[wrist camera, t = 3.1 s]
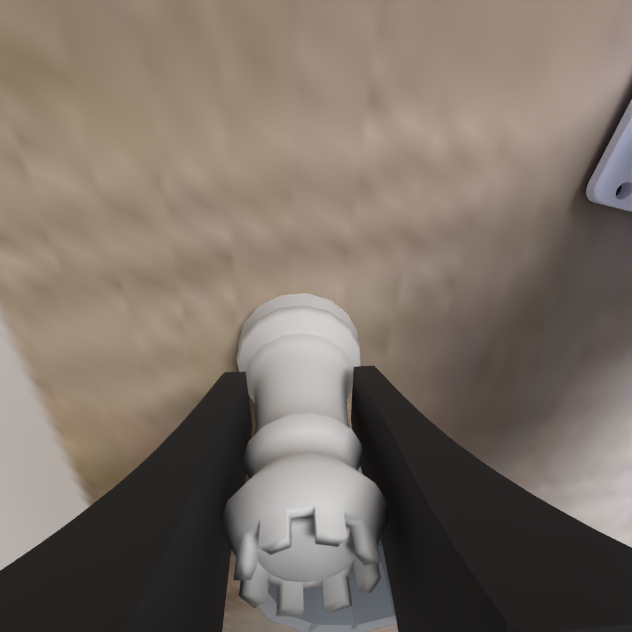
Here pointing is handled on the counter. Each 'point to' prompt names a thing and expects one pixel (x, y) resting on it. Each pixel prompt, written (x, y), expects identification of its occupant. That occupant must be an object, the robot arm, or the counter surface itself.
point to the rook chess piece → (303, 461)
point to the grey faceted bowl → (346, 624)
